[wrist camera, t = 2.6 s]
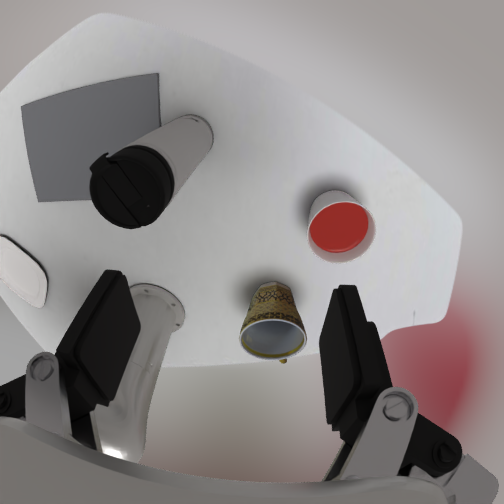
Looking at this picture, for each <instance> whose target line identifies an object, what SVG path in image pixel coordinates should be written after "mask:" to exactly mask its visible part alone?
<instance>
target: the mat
mask: <svg viewBox="0 0 504 504" xmlns="http://www.w3.org/2000/svg"><path fill="white" fill-rule="evenodd" d="M21 111H22V120H23V128H24V135H25V142H26V148H27V153H28V159H29V164H30V169H31V174H32V178H33V182H34V187H35V191H36V195H37V199H38V202H51V201H74V200H92V199H91V196H90V190H89V185H90V178H91V175H92V172H91V171H90V169H89V168H90V166H91V165H92V164H93V163H94V162H95V161H96V160H97V159H98V158H99V157H100V156H101V155H103V154H104V153H107V152H108V153H109V154H108V155H107V156H106V158H107V157H110V156H112V155H113V154H115V153H116V152H117V151H119V150H120V149H122V148H123V147H125V146H127V145H128V144H130V143H132V142H134V141H135V140H137V139H139V138H141V137H143V136H144V135H146V134H148V133H150V132H152V131H154V130H156V129H158V128H160V127H161V122H160V99H159V73H156V74H148V75H141V76H135V77H129V78H123V79H118V80H112V81H108V82H103V83H98V84H94V85H90V86H85V87H81V88H78V89H74V90H70V91H66V92H63V93H60V94H56V95H53V96H50V97H47V98H44V99H41V100H38V101H35V102H32V103H29V104H26V105H24V106H21Z"/></svg>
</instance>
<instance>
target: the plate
mask: <svg viewBox="0 0 504 504" xmlns="http://www.w3.org/2000/svg"><path fill="white" fill-rule="evenodd" d="M0 278H1V279H2V281H3V282H4V283H5V284H6V285H7V286H8V287H9V288H10V289H11V290H12V291H13V292H15V293H16V294H17V295H18V296H20V297H21V298H22V299H23V300H25V301H26V302H28V303H29V304H31V305H32V306H34V307H37V308H41V307H43V306H44V303H45V300H46V294H47V278H46V275H45V272H44V271H43V269H42V268H41V267H40V265H39V264H38V263H37V262H36V261H35V260H34V259H33V258H31V257H30V256H29V255H28V254H27V253H26V252H24V251H23V250H22V249H21V248H19V247H18V246H17V245H16V244H14V243H13V242H12V241H10V240H9V239H7V238H6V237H3V236H0Z"/></svg>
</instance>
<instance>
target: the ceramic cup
mask: <svg viewBox="0 0 504 504" xmlns="http://www.w3.org/2000/svg"><path fill="white" fill-rule="evenodd" d="M306 341H307V336H306V332H305V329H304V326H303V323H302V320H301V317H300V315H299V313H298V311H297V309H296V306H295V303H294V299H293V296H292V293H291V290H290V288H289V287H287V286H285V285H282V284H280V283H278V282H270V283H266V284H262V285H261V286H260V287H259V288H258V290H257V291H256V292H255V294H254V295H253V298H252V301H251V304H250V307H249V310H248V313H247V316H246V318H245V320H244V323H243V325H242V328H241V332H240V336H239V342H240V345H241V347H242V348H243V349H244V350H245V351H246V352H247V353H248V354H250V355H252V356H254V357H257V358H260V359H265V360H279V361H280V362H281V363H286V362H287V358H289V357H292V356H294V355H296V354H297V353H299V352H300V351H301V350H302V349H303V348H304V347H305V345H306Z"/></svg>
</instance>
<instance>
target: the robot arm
mask: <svg viewBox="0 0 504 504" xmlns="http://www.w3.org/2000/svg"><path fill="white" fill-rule="evenodd" d="M184 319H185V313H184V309H183V307H182V305H181V303H180V302H179V301H178V300H177V299H176V298H175V297H174V296H173V295H172V294H171V293H169V292H167V291H166V290H164V289H162V288H160V287H157V286H153V285H147V284H140V285H135V286H133V287H131V288H130V289H129V286H128V282H127V279H126V276H125V275H123V274H122V272H121V271H117V270H105V271H104V273H103V274H102V276H101V277H100V279H99V280H98V282H97V283H96V285H95V286H94V288H93V289H92V291H91V292H90V294H89V295H88V297H87V298H86V300H85V302H84V303H83V305H82V306H81V308H80V310H79V311H78V313H77V315H76V316H75V318H74V320H73V321H72V323H71V325H70V326H69V328H68V330H67V331H66V333H65V335H64V337H63V338H62V340H61V342H60V344H59V346H58V347H57V349H56V353H55V355H54V354H52V353H50V352H42V353H39V354H37V355H36V356H34V357H33V358H32V359H31V360H30V361H29V363H28V365H27V370H26V374H25V375H23V376H21V377H19V378H17V379H14V380H13V381H10V382H8V383H6V384H4V385H2V386H0V504H492V502H493V500H494V499H495V497H496V495H497V492H498V487H499V484H498V480H497V479H496V477H495V476H494V475H493V474H491V473H490V472H489V471H488V470H487V469H485V468H484V467H483V466H482V465H480V464H479V463H478V462H477V461H476V460H474V459H473V458H472V457H471V456H469V455H468V454H466V455H463V454H462V447H461V444H460V443H459V441H458V440H457V439H456V438H455V437H454V436H452V435H451V434H449V433H448V432H446V431H445V430H443V429H442V428H440V427H439V426H437V425H436V424H434V423H432V422H431V421H430V420H428V419H426V418H425V417H424V416H422V415H421V414H419V413H418V404H417V401H416V399H415V397H414V395H413V394H411V393H410V392H409V391H408V390H406V389H404V388H400V387H393V386H392V382H391V378H390V374H389V370H388V367H387V363H386V359H385V355H384V352H383V348H382V345H381V341H380V338H379V334H378V331H377V328H376V325H375V323H374V322H367V320H366V316H365V313H364V309H363V306H362V303H361V300H360V296H359V293H358V290H357V287H356V286H355V285H339V287H338V289H334V290H333V292H332V296H331V300H330V304H329V307H328V311H327V314H326V318H325V321H324V325H323V328H322V332H321V335H320V339H319V348H320V357H321V366H322V376H323V386H324V395H325V406H326V418H327V423H328V424H332V431H340V438H341V439H342V440H343V441H344V442H343V444H342V445H341V448H340V449H339V451H338V453H337V455H336V457H335V459H334V461H333V463H332V464H331V466H330V468H329V469H328V471H327V473H326V475H325V476H324V478H323V480H322V481H321V482H303V483H302V482H301V483H265V482H246V481H233V480H223V479H214V478H206V477H200V476H193V475H187V474H181V473H176V472H171V471H166V470H162V469H157V468H153V467H149V466H145V465H141V464H137V463H138V462H139V461H140V459H141V458H142V456H143V453H144V449H145V442H146V429H147V419H148V412H149V407H150V403H151V399H152V395H153V392H154V388H155V384H156V381H157V377H158V374H159V371H160V368H161V365H162V361H163V358H164V355H165V352H166V348H167V345H168V342H169V339H170V336H171V333H172V332H175V331H177V330H178V329H179V328H181V326H182V325H183V322H184Z"/></svg>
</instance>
